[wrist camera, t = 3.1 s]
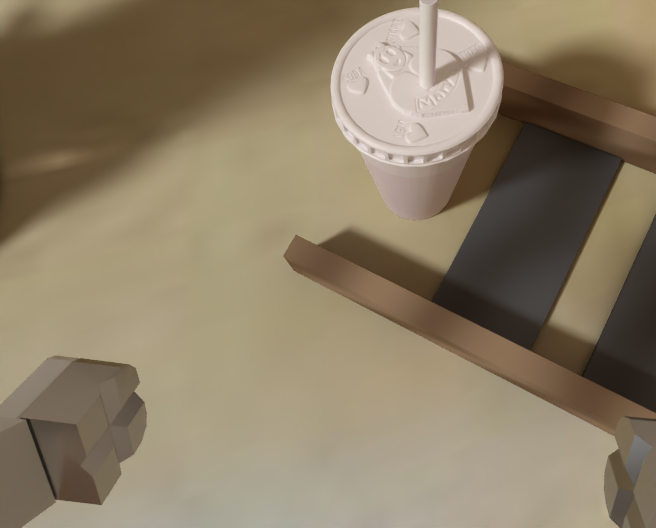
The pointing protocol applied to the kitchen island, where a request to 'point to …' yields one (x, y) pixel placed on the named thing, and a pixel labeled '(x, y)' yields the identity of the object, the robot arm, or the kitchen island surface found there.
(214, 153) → the kitchen island surface
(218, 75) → the kitchen island surface
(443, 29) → the smoothie
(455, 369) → the kitchen island surface
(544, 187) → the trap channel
